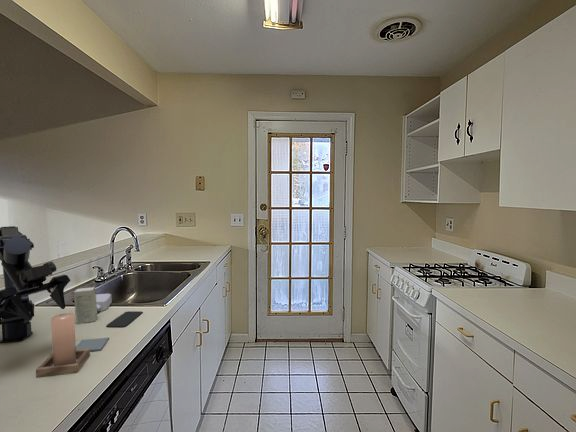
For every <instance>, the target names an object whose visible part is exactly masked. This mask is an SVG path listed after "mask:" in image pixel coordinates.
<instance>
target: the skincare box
mask: <svg viewBox="0 0 576 432" xmlns="http://www.w3.org/2000/svg"><path fill="white" fill-rule="evenodd" d="M96 292H97V291H96V286H93V287H83V288H82V287H81V288H77V289H76V290H74V291H73V300H74V301H73V302H74V310H75V311H74V312H75V313H74V316H75V325H77V324H84V323H85V324H86V323H93V322H95V321H96V320H97V318H98V311H97V305H96V294H97V293H96Z"/></svg>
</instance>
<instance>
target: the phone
mask: <svg viewBox="0 0 576 432" xmlns="http://www.w3.org/2000/svg"><path fill="white" fill-rule="evenodd" d="M142 314H144V312H143V311H141V310H140V311H124V312H122V314H120V315H119V316H118V317H116V318H115V319H113V320H112V321H110V322H109V323H107V324H106V326H105V327H106V329H108V328H112V329H114V328H116V329H117V328H121V329H122V328H126V327H128V326H129V325H130V324H132V323H134V321H135V320H136V319H138V318H139V317H140V316H141V315H142Z"/></svg>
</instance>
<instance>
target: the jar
mask: <svg viewBox="0 0 576 432" xmlns="http://www.w3.org/2000/svg"><path fill="white" fill-rule="evenodd" d="M50 323H51V325H50V326H51V347H52V353H53V364H52V366H59V365H68V364H75V362H76V361H77V358H76V346H77V345H76V329H75V328H76V326H75V325H76V321H75V313H74V312H72V313H71V312H65V313H59V314H55V315H54V316H52V317H51V318H50Z"/></svg>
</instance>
